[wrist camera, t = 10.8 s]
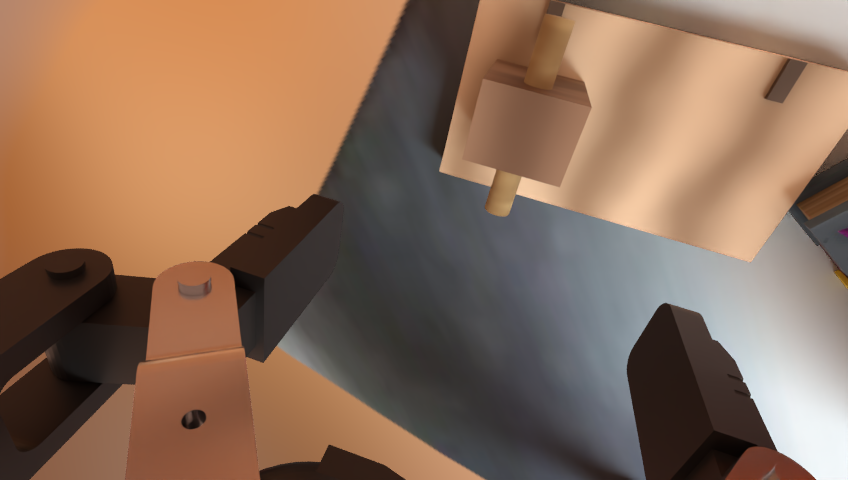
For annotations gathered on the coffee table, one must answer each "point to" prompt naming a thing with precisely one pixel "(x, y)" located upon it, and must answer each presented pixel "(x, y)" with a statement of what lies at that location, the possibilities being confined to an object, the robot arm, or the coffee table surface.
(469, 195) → the coffee table surface
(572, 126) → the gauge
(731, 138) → the board
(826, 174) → the decorative book
